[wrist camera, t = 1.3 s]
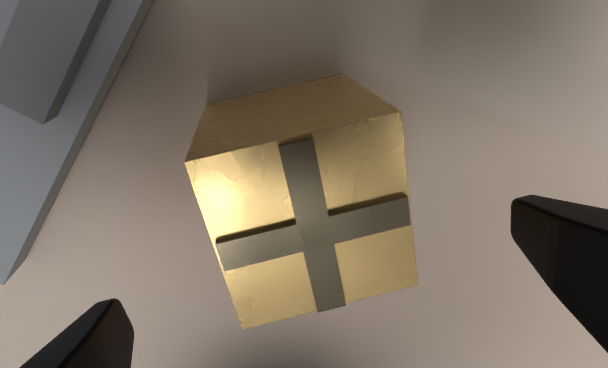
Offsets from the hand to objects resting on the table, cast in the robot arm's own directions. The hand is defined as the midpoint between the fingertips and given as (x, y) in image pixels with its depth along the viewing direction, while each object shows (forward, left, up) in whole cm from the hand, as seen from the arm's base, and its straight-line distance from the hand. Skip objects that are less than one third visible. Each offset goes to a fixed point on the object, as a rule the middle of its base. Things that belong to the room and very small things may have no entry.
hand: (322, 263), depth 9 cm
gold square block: (0, 0, -7) cm, 7 cm away
